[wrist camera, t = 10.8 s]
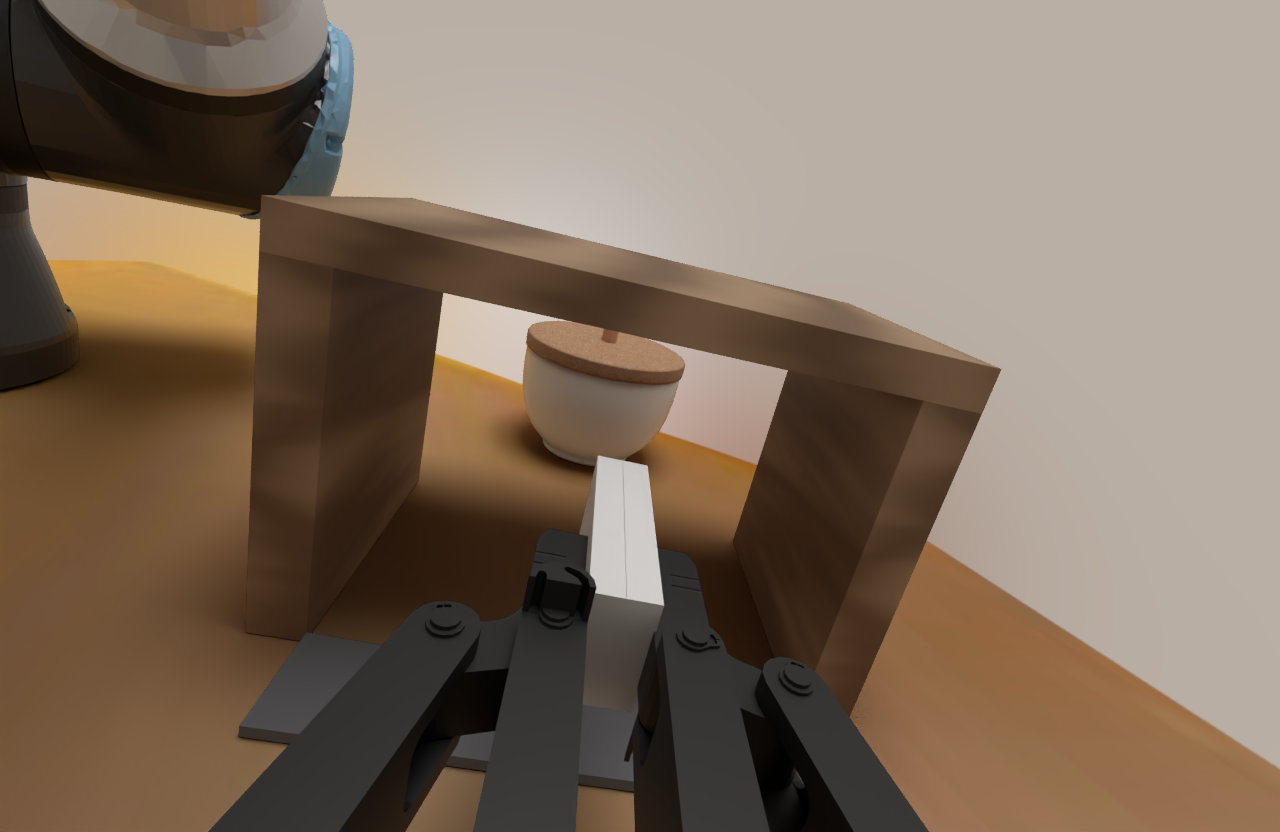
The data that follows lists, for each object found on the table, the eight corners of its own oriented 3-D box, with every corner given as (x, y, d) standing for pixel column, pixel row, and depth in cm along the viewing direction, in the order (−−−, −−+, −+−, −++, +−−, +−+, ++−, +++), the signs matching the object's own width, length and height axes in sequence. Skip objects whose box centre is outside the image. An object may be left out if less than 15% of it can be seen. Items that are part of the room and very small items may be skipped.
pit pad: (238, 736, 18) (239, 725, 17) (305, 641, 21) (306, 632, 21) (830, 819, 20) (834, 809, 19) (795, 719, 23) (798, 711, 23)
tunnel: (245, 632, 21) (261, 195, 17) (380, 474, 33) (411, 197, 29) (845, 727, 24) (1001, 369, 19) (765, 547, 36) (849, 303, 31)
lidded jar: (530, 407, 49) (552, 291, 46) (661, 440, 49) (692, 326, 46) (488, 456, 39) (512, 311, 36) (653, 498, 38) (692, 355, 36)
